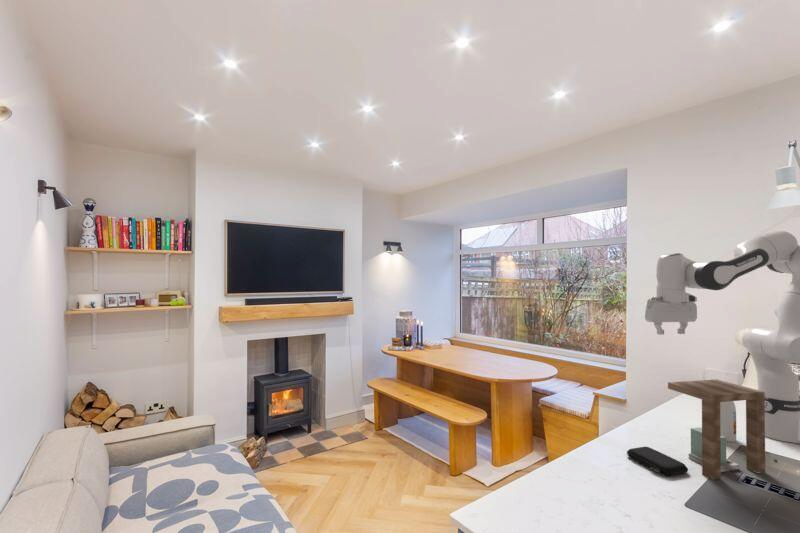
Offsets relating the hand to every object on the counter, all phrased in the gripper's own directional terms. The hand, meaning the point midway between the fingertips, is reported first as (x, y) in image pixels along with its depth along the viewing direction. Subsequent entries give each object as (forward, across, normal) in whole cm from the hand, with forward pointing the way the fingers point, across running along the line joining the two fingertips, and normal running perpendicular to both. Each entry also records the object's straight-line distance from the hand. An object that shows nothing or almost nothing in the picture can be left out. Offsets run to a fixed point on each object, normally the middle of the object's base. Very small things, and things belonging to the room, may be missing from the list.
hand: (670, 334), depth 142 cm
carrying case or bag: (+38, -26, -17) cm, 49 cm away
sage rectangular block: (+37, -7, -19) cm, 42 cm away
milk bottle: (+37, +16, -6) cm, 41 cm away
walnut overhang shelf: (+37, -7, -21) cm, 43 cm away
